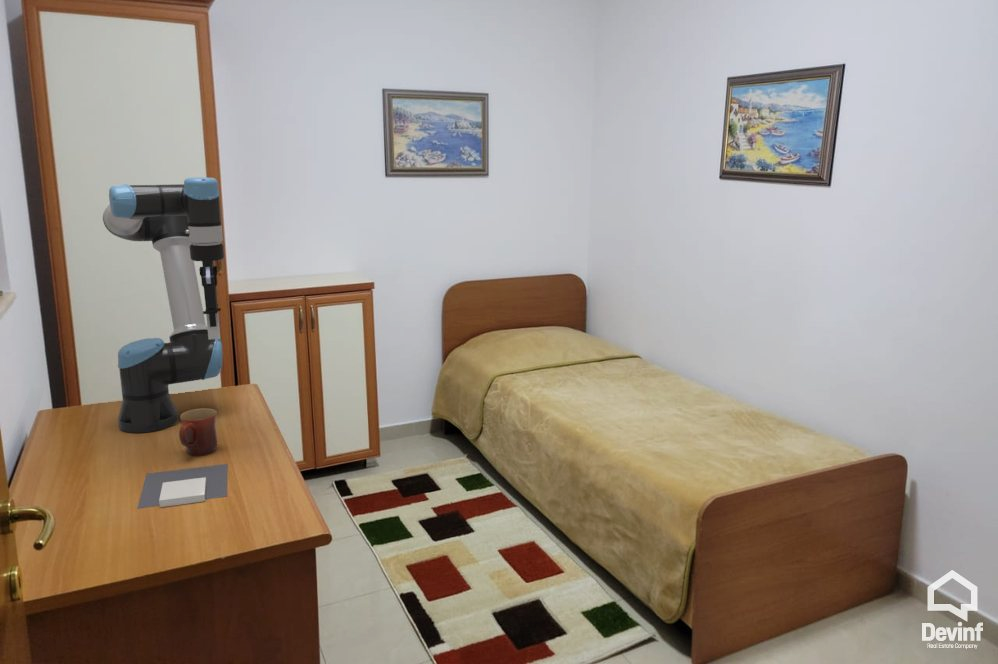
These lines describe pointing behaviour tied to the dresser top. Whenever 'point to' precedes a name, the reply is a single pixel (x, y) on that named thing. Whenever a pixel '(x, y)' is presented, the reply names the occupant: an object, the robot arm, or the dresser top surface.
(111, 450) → the dresser top surface
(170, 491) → the tile
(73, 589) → the dresser top surface
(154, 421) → the robot arm
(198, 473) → the mat
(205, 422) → the mug
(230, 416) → the dresser top surface
